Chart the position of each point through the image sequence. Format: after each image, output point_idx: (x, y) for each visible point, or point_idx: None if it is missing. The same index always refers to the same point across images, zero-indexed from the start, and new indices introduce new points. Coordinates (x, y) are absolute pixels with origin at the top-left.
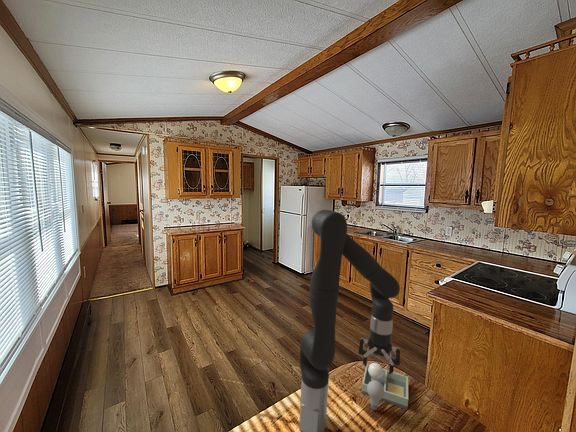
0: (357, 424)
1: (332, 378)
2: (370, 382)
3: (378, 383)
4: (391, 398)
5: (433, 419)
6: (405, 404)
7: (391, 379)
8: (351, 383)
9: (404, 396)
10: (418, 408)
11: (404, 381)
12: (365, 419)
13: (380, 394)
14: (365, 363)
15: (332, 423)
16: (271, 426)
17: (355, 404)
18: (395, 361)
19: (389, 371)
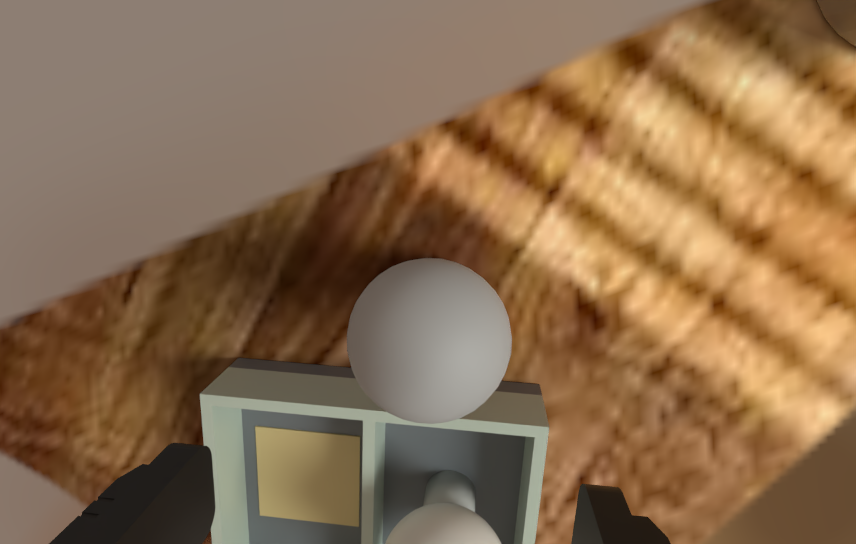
0: (552, 96)
1: (772, 445)
2: (484, 373)
3: (396, 373)
4: (325, 385)
5: (95, 341)
6: (236, 373)
7: None
8: (616, 445)
9: (251, 443)
10: (177, 390)
11: None
12: (497, 166)
13: (378, 281)
14: (619, 527)
15: (748, 17)
16: None
17: (576, 268)
18: None
19: (172, 469)
